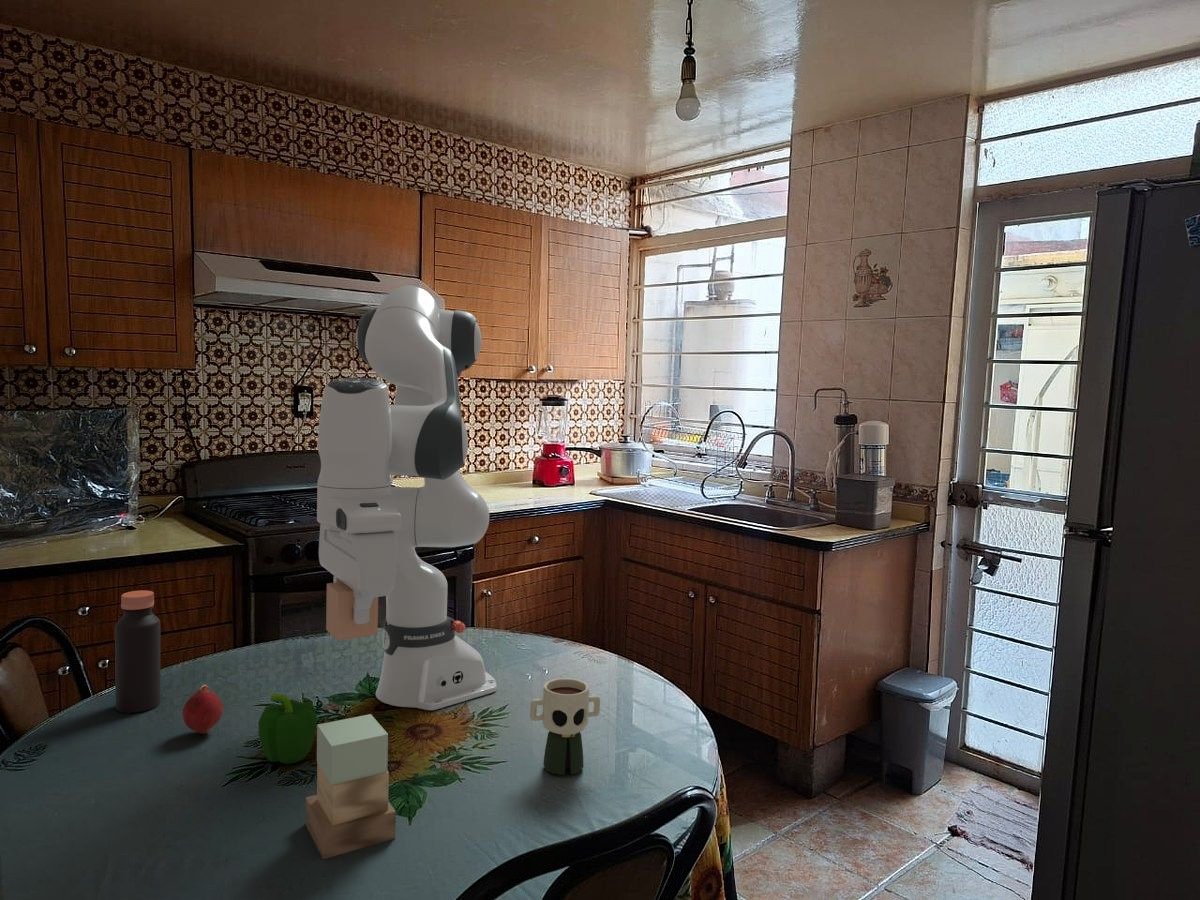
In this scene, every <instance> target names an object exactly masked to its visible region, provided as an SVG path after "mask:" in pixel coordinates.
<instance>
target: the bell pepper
mask: <svg viewBox="0 0 1200 900" xmlns="http://www.w3.org/2000/svg"><path fill="white" fill-rule="evenodd" d="M269 698H270V700H271V701H272V702H275V701H281V702H282V703H280V705H273V704H272V705H266V706H265V707H264V710H263V712H262V713H261V716H260V717H259V720H258V723H257V724H258V737H259V741H260V745H261V747H262V751H263V754H264V756H265V758H266V759H267V761H268V762H271V763H276V762H280V763H282V764H286V765H289V764H296V763H298V762H301V761H303V760H305V758H306V757H307V756H308V754H309V753H310V752H311V750H312V748H313V744H314V740H315V736H316V734H317V725H318V724H317V723H318V722H317V721H318V719H317V712H316V709H315V706H314V704H313V702H312V701H305V702H302V701H299V700H295V699H292V698H289V697H288V696H286V695H285V694H281V693H276V694H272V695H270V697H269Z"/></svg>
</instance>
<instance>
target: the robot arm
mask: <svg viewBox="0 0 1200 900" xmlns="http://www.w3.org/2000/svg"><path fill="white" fill-rule="evenodd" d="M355 331H356V332H355V342H356V343H355V344H356V346H357V350H358V354H359V357H360V358H361V359H362V360H363V361H364V362H365V363H366V365H369V366H370V368H371V369H372V370H373V371H374V372H375V373H376V375H378V376H379V377H380V378H381V379H383V380H385V381H386V382H388V383H390V384H393V385H395V386H396V390H395V394H394V395H395V396H394V404H391V401H390V394H389V393H390V392H389V389H388V385H387V384H386V383H385V382H384V381H381V380H379V379H375V378H370V377H347V378H346V377H344V378H343V377H342V378H336V379H334V380H332V381H330V382H328V383H326V385H325V387H324V390H323V394H322V398H321V399H322V400H321V406H320V411H319V420H318V433H317V434H318V435H317V436H318V437H317V451H318V452H317V453H318V454H319V458H320V470H319V471H320V472H319V475H318V478H317V488H316V489H317V490H316V492H317V493H316V494H317V495H316V496H317V500H316V506H317V507H316V521H317V522H318V524H320V525H319V539H318V543H319V544H318V560H319V564H320V566H321V567H322V568H324V569H325V570H327V571H328V572H329V573H330V574H331V575H333V583H336V582H343V583H345V584H346V585H347V586H349V587H350V588H351V589H353V596H354V597H355V601H354V608H352V620H353V621H354V622H355V623H356V624H365V623H368V622H369V614H370V607H371V604H372V601H373V598H374V597H378V598H379V597H385V600H386V601H385V603H386V604H385V605H386V606H385V607H386V608H385V610H386V612H385V614H386V615H385V618H384V619H383V631H382V649H383V651H384V652H383V661H382V668H381V673H380V676H379V677H380V678H379V682H378V685H377V688H376V691H375V697H376V699H377V700H379V701H380V702H381V703H384V704H386V705H387V704H388V705H390V706H395V707H401V708H417V709H420V710H426V711H436V710H438V709H443V708H445V707H449V706H452V705H455V704H459V703H462V702H466V701H468V700H473V699H475V698H478V697H482V696H486V695H488V694H492V693H494V692H496V691H497V680H496V679H495V678H494V677H493V675H491V674H490V673H489V672H487V671H486V668H485V664H484V658H483V657H482V656H481V654H480V653H479V651H477V650H476V649H475V648H474V647H473V646H471V645H470V644H468V643H467V642H465V641H464V640H463V639H462V638H460V637H459V636H457V635H456V633H457V634H462V633H464V631H465V630H466V624H465V623H464V622H462V621H460V620H456V619H453V618H452V617H451V616H450V617H449V616H448V615H447V614H448V581H447V578H446V576H445V575H444V573H443V572H442V571H441V570H439V569H438V568H437V567H435V566H433V565H431V564H430V563H427V562H425V561H424V560H422V559H421V558H420V556H418V554H417V552H416V548H419V547H421V548H423V547H424V548H425V547H426V548H427V547H428V548H457V547H463V546H464V547H465V546H469V545H475V544H478V543H479V541H481V539H483V537H484V536H485V534H486V532H487V531H488V529H489V525H490V511H489V507H488V504H487V502H486V500H485V499H484V497H482V495H481V494H480V493H479V492H478V491H476V490H475V489H474V488H473V487H472V486H471V485H470V484H469V483H468V482H467V480H466V479H465V478H464V476H463V475H462V473H461V471H460V469H462V467H463V466H464V464H465V461H466V459H467V455H468V450H469V449H468V448H469V438H468V437H469V436H468V432H467V431H468V430H467V427H466V424H465V423H466V422H464V419H463V416H462V409H461V408H462V405H461V395H460V386H459V378H460V377H461V375H462V372H464V371H467V370H469V369H470V368H471V367H472V366H473V365H475V363H476V362H477V360H478V356H479V354H480V352H481V349H482V343H483V338H482V337H483V336H482V332H481V328H480V325H479V323H478V320H477V317H475V315H473V314H472V313H470V312H467V311H463V310H460V309H455V310H454V311H453V310H449V309H443V308H439V306H438V304H437V301H436V299H435V298H434V297H433V296H432V295H431V294H430V293H429V292H428V291H427V290H425V289H423V288H421V287H418V286H416V285H415V286H414V285H403V286H402V285H401V286H399V287H397V288H394V289H393V290H392V291H390V292H389V293H388V294H387V295H386V296H385V298H384V299H383V300H382V301H381V302H380V304H379V305H378V307H376V308H373V309H369V310H368V311H366V312H365V313H363V314H362V316H361V317H360V318H359V320H358V324H357V327H356V330H355ZM391 476H402V477H403V476H404V477H420V478H423V479H424V485H423V486H420V487H417V486H416V487H413V486H412V487H411V486H406V487H405V486H392V480H391Z"/></svg>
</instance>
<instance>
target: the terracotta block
mask: <svg viewBox="0 0 1200 900" xmlns="http://www.w3.org/2000/svg"><path fill="white" fill-rule="evenodd" d="M354 601H355V597H354V596H353V589H351V588H350V587H349V586H347V585H346V584H345V583H343V582H336V583H334V582H329V583H326V608H325V609H326V615H325V618H326V620H325V621H326V623H325V624H326V625H325V627H326V628H325V629H326V631H327V632H328V633H329V635H331V637H333V639H335V640H336V641H337V642H338V641H344V640H352V639H359V638H365V637H366V638H368V637H375V636H378V633H379V632H378V631H379V630H378V629H379V628H378V627H379V626H378V624H379V621H378V620H379V597H374V598H373V601H372V604H371V607H370V614H369V622H368V623H365V624H356V623H355V622H354V621H353V620H352V608H354Z"/></svg>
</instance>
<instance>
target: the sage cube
mask: <svg viewBox="0 0 1200 900" xmlns="http://www.w3.org/2000/svg"><path fill="white" fill-rule="evenodd" d="M388 745H389V734H388V732H387V731H386V730H385V729H384V728H383V726H382V725H381V724H380V723H379V722H378V721H377V720H376V718H375V717H374V716H373V715H372V713H369V714H364V715H360V716H355V717H349V718H344V719H340V720H339V719H338V720H335V721H330V722H324V723H318V724H317V726H316V763H318V765H319V766H320V768H321V770H322V771H323V773H324V774H325V776H326V778H327V779H328V781H329V783H330V784H331V786H332V785H336V784H340V783H344V782H348V781H352V780H356V779H360V778H365V777H369V776H373V775H377V774H381V773H385V772H387V771H388V758H389V757H388V756H389V755H388V754H389V753H388V751H389V750H388V749H389V746H388Z"/></svg>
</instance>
